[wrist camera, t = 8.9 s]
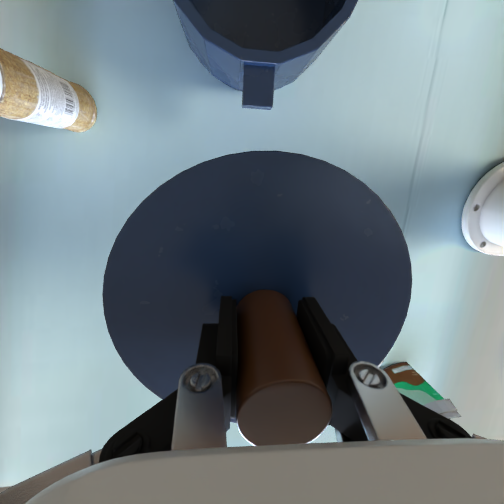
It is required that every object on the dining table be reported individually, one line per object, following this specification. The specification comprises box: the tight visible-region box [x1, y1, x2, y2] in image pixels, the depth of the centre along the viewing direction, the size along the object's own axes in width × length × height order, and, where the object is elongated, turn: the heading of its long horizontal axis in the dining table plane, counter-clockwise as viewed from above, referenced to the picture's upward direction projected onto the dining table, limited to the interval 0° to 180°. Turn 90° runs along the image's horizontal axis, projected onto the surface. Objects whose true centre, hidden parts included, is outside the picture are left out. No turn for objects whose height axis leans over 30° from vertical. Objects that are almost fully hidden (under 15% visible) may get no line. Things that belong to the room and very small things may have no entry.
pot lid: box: [103, 151, 412, 446], centre depth 11 cm, size 16×16×7 cm
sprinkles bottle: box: [0, 48, 97, 132], centre depth 19 cm, size 5×5×14 cm
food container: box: [384, 362, 461, 419], centre depth 37 cm, size 12×6×10 cm, turn 178°
